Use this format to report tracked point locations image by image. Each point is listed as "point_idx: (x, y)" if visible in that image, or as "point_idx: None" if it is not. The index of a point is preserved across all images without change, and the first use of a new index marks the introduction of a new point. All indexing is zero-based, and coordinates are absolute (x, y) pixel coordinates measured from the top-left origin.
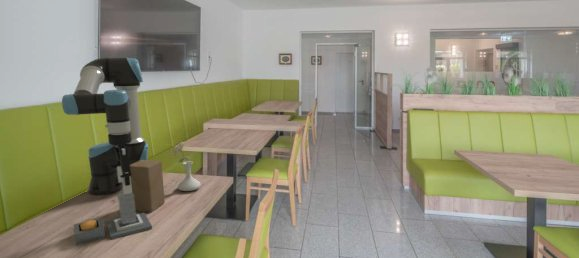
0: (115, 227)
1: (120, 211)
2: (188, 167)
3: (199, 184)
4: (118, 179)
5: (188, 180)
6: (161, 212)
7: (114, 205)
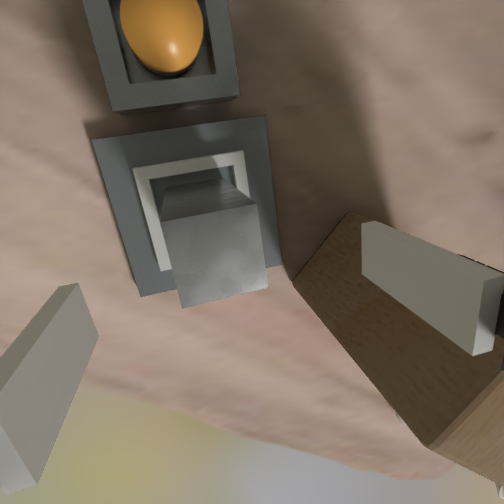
0: (181, 158)
1: (179, 198)
2: None
3: None
4: (377, 231)
5: None
6: (275, 314)
7: (434, 142)
